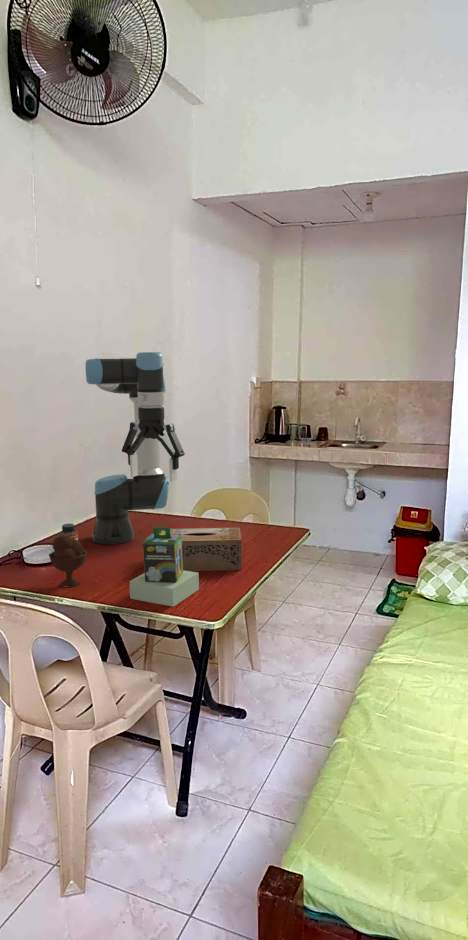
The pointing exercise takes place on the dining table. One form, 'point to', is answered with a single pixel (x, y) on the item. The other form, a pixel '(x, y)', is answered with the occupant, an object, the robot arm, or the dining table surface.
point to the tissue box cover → (210, 548)
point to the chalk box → (163, 556)
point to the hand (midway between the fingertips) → (153, 478)
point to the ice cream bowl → (67, 557)
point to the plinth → (164, 589)
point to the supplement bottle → (69, 531)
